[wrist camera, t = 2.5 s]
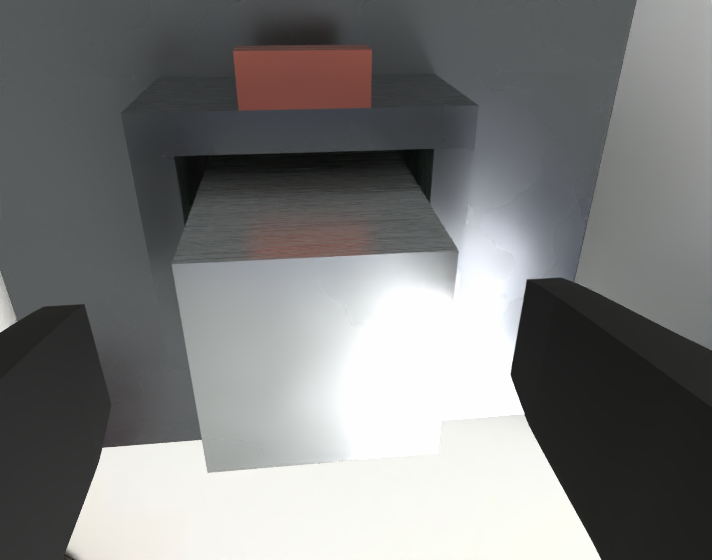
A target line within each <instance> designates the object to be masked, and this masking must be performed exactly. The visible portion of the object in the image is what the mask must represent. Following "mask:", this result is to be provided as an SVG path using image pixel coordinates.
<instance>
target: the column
mask: <svg viewBox="0 0 712 560" xmlns="http://www.w3.org/2000/svg"><path fill="white" fill-rule="evenodd" d="M458 254H459V250H458V248H457V247H456V245H455V243H454V242H453V240H452V239H451V237H450V235H449V234H448V232H447V231H446V229H445V227H444V226H443V224H442V222H441V221H440V219H439V218H438V216H437V214H436V213H435V211H434V210H433V208H432V206H431V205H430V203H429V202H428V200H427V198H426V197H425V195H424V193H423V192H422V190H421V189H420V187H419V185H418V184H417V182H416V181H415V179H414V177H413V176H412V174H411V173H410V171H409V169H408V168H407V166H406V164H405V163H404V161H403V160H402V158H401V156H400V155H399V153H398V152H397V150H372V151H337V152H302V153H268V154H233V155H210V158H209V161H208V164H207V166H206V169H205V172H204V175H203V178H202V180H201V183H200V186H199V189H198V192H197V194H196V197H195V200H194V203H193V206H192V209H191V211H190V214H189V217H188V220H187V223H186V225H185V228H184V231H183V234H182V237H181V239H180V242H179V245H178V248H177V251H176V253H175V256H174V259H173V262H172V269H173V275H174V281H175V287H176V293H177V298H178V304H179V310H180V316H181V321H182V327H183V333H184V339H185V345H186V350H187V356H188V362H189V368H190V373H191V379H192V385H193V391H194V397H195V402H196V408H197V414H198V420H199V425H200V431H201V437H202V443H203V449H204V454H205V460H206V466H207V472H208V473H210V472H222V471H234V470H245V469H257V468H268V467H280V466H292V465H303V464H315V463H327V462H338V461H350V460H361V459H373V458H385V457H396V456H408V455H419V454H431V453H438V446H439V436H440V426H441V417H442V407H443V398H444V388H445V379H446V369H447V360H448V350H449V340H450V331H451V321H452V312H453V302H454V293H455V283H456V274H457V264H458Z"/></svg>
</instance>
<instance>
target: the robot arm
mask: <svg viewBox="0 0 712 560" xmlns="http://www.w3.org/2000/svg"><path fill="white" fill-rule="evenodd" d="M510 376H511V379H512V382H513V385H514V387H515V390H516V393H517V396H518V399H519V401H520V404H521V406H522V409H523V412H524V414H525V417H526V419H527V422H528V424H529V426H530V428H531V430H532V432H533V434H534V436H535V438H536V440H537V441H538V443H539V445H540V447H541V449H542V451H543V453H544V454H545V456H546V458H547V460H548V462H549V464H550V466H551V467H552V469H553V471H554V473H555V475H556V476H557V478H558V480H559V482H560V484H561V485H562V487H563V489H564V491H565V493H566V495H567V496H568V498H569V500H570V502H571V504H572V505H573V507H574V509H575V511H576V513H577V515H578V516H579V518H580V520H581V522H582V524H583V525H584V527H585V529H586V531H587V533H588V534H589V536H590V538H591V540H592V542H593V544H594V546H595V548H596V550H597V552H598V554H599V556H600V558H601V560H712V351H711V350H709V349H707V348H705V347H703V346H701V345H699V344H697V343H695V342H693V341H691V340H689V339H686V338H684V337H682V336H680V335H678V334H676V333H674V332H672V331H670V330H668V329H666V328H664V327H662V326H660V325H659V324H657V323H655V322H653V321H651V320H649V319H647V318H645V317H643V316H641V315H639V314H637V313H635V312H633V311H631V310H629V309H627V308H625V307H623V306H621V305H620V304H618V303H616V302H614V301H612V300H610V299H608V298H606V297H604V296H602V295H600V294H598V293H596V292H594V291H592V290H590V289H588V288H585V287H583V286H581V285H579V284H577V283H574V282H572V281H569V280H567V279H564V278H561V277H559V278H542V279H527V281H526V287H525V293H524V298H523V304H522V310H521V315H520V321H519V327H518V333H517V338H516V344H515V350H514V355H513V361H512V367H511V372H510ZM111 405H112V404H111V401H110V397H109V393H108V390H107V386H106V382H105V378H104V375H103V371H102V367H101V364H100V360H99V356H98V352H97V349H96V345H95V341H94V338H93V334H92V330H91V326H90V323H89V319H88V315H87V312H86V308H85V304H78V305H61V306H44V307H42V308H40V309H38V310H36V311H34V312H32V313H31V314H29V315H27V316H26V317H24V318H22V319H21V320H19V321H18V322H16V323H15V324H13V325H11V326H10V327H8V328H7V329H5V330H4V331H2V332H1V333H0V560H62V559H63V556H64V554H65V551H66V549H67V546H68V543H69V541H70V538H71V535H72V533H73V530H74V527H75V525H76V522H77V520H78V517H79V514H80V512H81V509H82V506H83V504H84V501H85V498H86V496H87V493H88V490H89V487H90V485H91V482H92V479H93V477H94V474H95V471H96V468H97V465H98V463H99V459H100V455H101V451H102V447H103V442H104V438H105V434H106V429H107V424H108V419H109V415H110V410H111Z"/></svg>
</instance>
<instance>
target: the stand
mask: <svg viewBox="0 0 712 560" xmlns="http://www.w3.org/2000/svg"><path fill="white" fill-rule="evenodd" d="M635 4H636V0H0V271H1V274H2V276H3V279H4V282H5V285H6V288H7V291H8V294H9V297H10V300H11V303H12V306H13V309H14V312H15V315H16V317H17V320H18V321H19V320H21V319H22V318H24V317H26V316H27V315H29V314H31V313H32V312H34V311H36V310H38V309H40V308H42V307H44V306H61V305H78V304H85V308H86V312H87V315H88V319H89V323H90V326H91V330H92V334H93V338H94V341H95V345H96V349H97V352H98V356H99V360H100V364H101V367H102V371H103V375H104V378H105V382H106V386H107V390H108V393H109V397H110V401H111V404H112V405H111V410H110V415H109V419H108V424H107V429H106V434H105V438H104V442H103V447H102V448H104V447H117V446H129V445H142V444H154V443H167V442H179V441H192V440H202V437H201V431H200V425H199V420H198V414H197V408H196V402H195V397H194V391H193V385H192V379H191V373H190V368H189V362H188V356H187V350H186V345H185V339H184V333H183V327H182V321H181V316H180V310H179V304H178V298H177V293H176V287H175V281H174V275H173V269H172V262H173V259H174V256H175V253H176V251H177V248H178V245H179V242H180V239H181V237H182V234H183V231H184V228H185V225H186V223H187V220H188V217H189V214H190V211H191V209H192V206H193V203H194V200H195V197H196V194H197V192H198V189H199V186H200V183H201V180H202V178H203V175H204V172H205V169H206V166H207V164H208V161H209V155H233V154H268V153H302V152H337V151H372V150H397V152H398V153H399V155H400V156H401V158H402V160H403V161H404V163H405V164H406V166H407V168H408V169H409V171H410V173H411V174H412V176H413V177H414V179H415V181H416V182H417V184H418V185H419V187H420V189H421V190H422V192H423V193H424V195H425V197H426V198H427V200H428V202H429V203H430V205H431V206H432V208H433V210H434V211H435V213H436V214H437V216H438V218H439V219H440V221H441V222H442V224H443V226H444V227H445V229H446V231H447V232H448V234H449V235H450V237H451V239H452V240H453V242H454V243H455V245H456V247H457V248H458V250H459V254H458V264H457V274H456V283H455V293H454V302H453V312H452V321H451V331H450V340H449V350H448V360H447V369H446V379H445V388H444V398H443V407H442V417H441V420H454V419H466V418H479V417H491V416H504V415H516V414H524V412H523V409H522V406H521V404H520V401H519V399H518V396H517V393H516V390H515V387H514V385H513V382H512V379H511V376H510V372H511V367H512V361H513V355H514V350H515V344H516V338H517V333H518V327H519V321H520V315H521V310H522V304H523V298H524V293H525V287H526V281H527V279H542V278H559V277H561V278H564V279H567V280H569V281H572V282H574V280H575V275H576V271H577V266H578V262H579V257H580V253H581V248H582V244H583V239H584V235H585V230H586V225H587V221H588V216H589V212H590V207H591V203H592V198H593V194H594V189H595V185H596V180H597V176H598V171H599V167H600V162H601V158H602V153H603V149H604V144H605V140H606V135H607V131H608V126H609V122H610V117H611V113H612V108H613V104H614V99H615V95H616V90H617V86H618V81H619V77H620V72H621V68H622V63H623V59H624V54H625V50H626V45H627V41H628V36H629V31H630V27H631V22H632V18H633V13H634V9H635Z"/></svg>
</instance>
